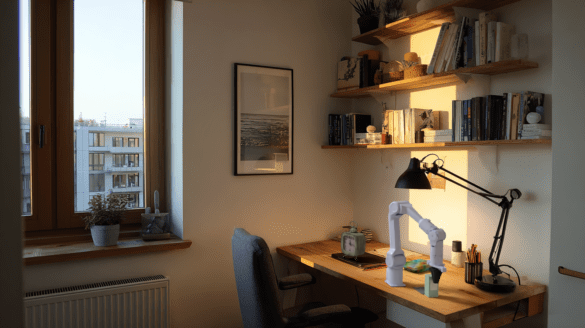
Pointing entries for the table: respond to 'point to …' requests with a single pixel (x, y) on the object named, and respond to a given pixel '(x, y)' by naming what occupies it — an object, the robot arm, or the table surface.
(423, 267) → the puzzle game
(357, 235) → the tabletop clock
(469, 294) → the table surface
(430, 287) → the sage block
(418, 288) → the mat
